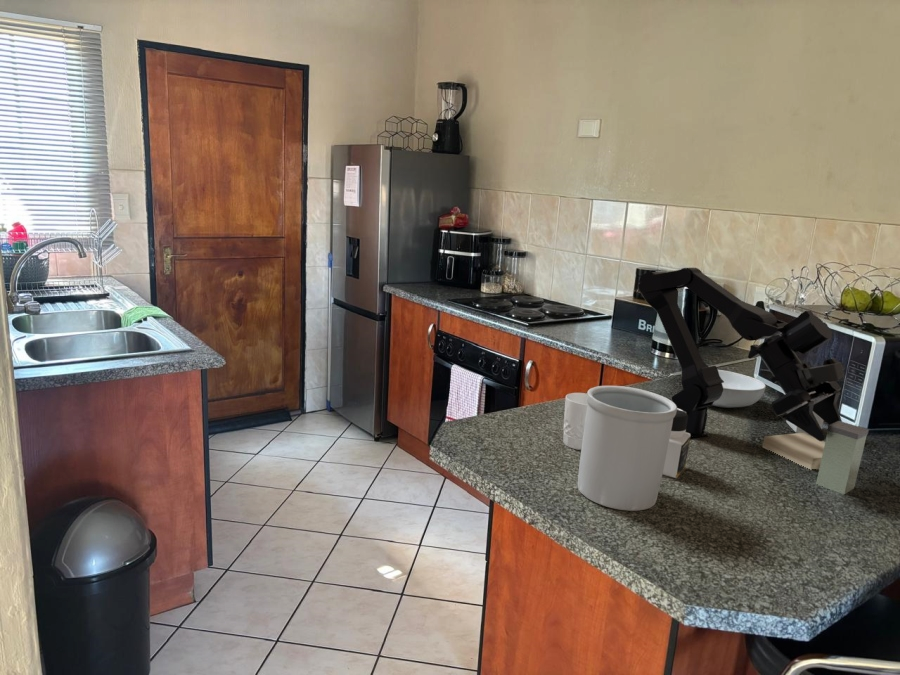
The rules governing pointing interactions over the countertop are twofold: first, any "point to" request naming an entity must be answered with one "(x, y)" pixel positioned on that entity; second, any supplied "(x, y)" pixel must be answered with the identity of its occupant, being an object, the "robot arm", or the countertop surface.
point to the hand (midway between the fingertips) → (833, 436)
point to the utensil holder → (624, 446)
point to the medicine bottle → (677, 446)
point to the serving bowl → (739, 390)
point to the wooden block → (797, 448)
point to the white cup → (574, 419)
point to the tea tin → (841, 456)
